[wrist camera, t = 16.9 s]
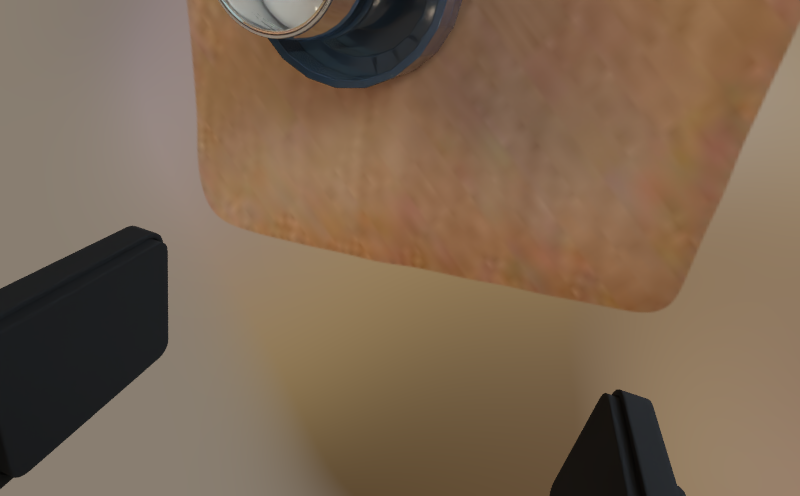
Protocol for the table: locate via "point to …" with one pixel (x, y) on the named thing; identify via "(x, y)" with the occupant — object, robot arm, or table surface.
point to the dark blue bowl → (375, 47)
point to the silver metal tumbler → (313, 17)
